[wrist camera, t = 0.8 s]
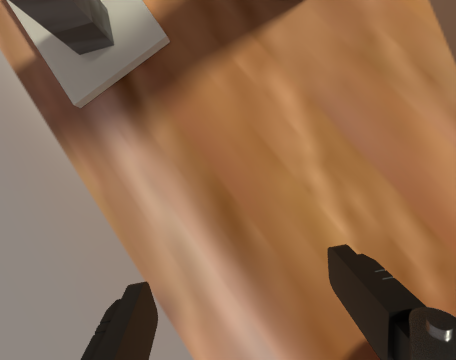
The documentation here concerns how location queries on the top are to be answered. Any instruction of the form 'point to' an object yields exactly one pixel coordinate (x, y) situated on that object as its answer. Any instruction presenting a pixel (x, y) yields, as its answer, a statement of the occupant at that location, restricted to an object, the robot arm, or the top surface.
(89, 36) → the charcoal link
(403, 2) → the top surface
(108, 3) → the plate
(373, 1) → the top surface
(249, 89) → the top surface
